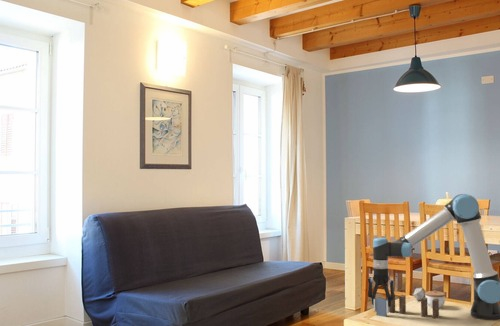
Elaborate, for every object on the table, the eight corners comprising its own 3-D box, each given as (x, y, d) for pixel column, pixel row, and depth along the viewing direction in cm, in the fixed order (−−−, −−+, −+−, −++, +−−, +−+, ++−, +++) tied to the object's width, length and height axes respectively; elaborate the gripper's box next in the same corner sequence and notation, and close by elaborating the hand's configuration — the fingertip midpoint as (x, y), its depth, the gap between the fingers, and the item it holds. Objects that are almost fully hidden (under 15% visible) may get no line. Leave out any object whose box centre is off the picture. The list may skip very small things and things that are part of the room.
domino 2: (395, 310, 279) (394, 294, 279) (392, 312, 274) (392, 295, 275) (391, 310, 280) (391, 293, 280) (388, 312, 275) (388, 295, 276)
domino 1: (377, 314, 271) (377, 297, 271) (386, 315, 268) (386, 298, 269) (376, 315, 269) (376, 298, 270) (385, 316, 267) (385, 299, 267)
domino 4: (427, 314, 269) (427, 297, 270) (425, 317, 265) (424, 299, 266) (423, 314, 271) (423, 297, 271) (421, 316, 266) (421, 299, 267)
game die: (423, 307, 300) (430, 296, 294) (409, 302, 301) (415, 290, 296) (424, 297, 307) (431, 285, 301) (410, 291, 309) (416, 280, 303)
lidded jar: (448, 309, 281) (448, 292, 281) (429, 309, 281) (428, 292, 281) (441, 304, 291) (441, 288, 292) (422, 304, 292) (422, 288, 292)
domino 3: (405, 312, 276) (405, 295, 276) (403, 314, 271) (402, 297, 272) (402, 311, 277) (401, 294, 277) (399, 313, 272) (399, 296, 273)
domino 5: (438, 316, 266) (438, 298, 267) (436, 318, 262) (436, 300, 263) (434, 315, 267) (434, 298, 268) (432, 318, 263) (432, 300, 264)
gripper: (360, 267, 272) (361, 311, 271) (396, 270, 262) (397, 316, 261) (365, 265, 278) (366, 308, 277) (400, 268, 268) (401, 312, 267)
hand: (381, 311), depth 269 cm, fingers open, 6 cm apart
